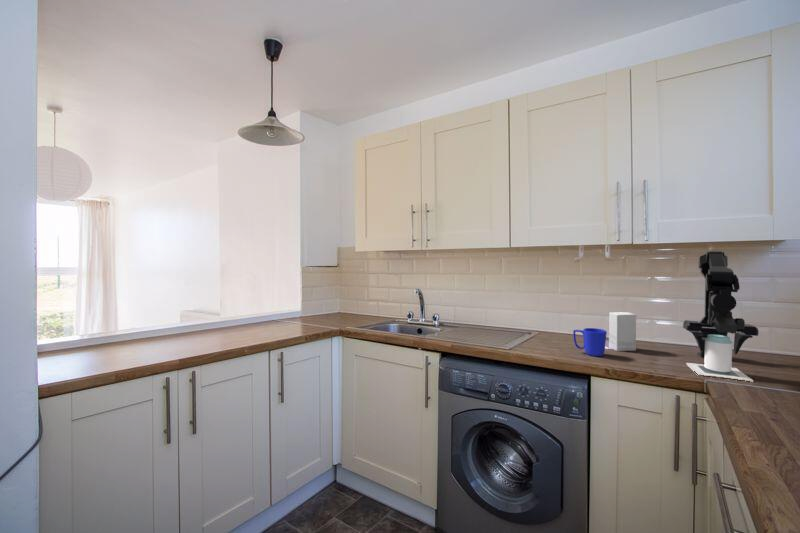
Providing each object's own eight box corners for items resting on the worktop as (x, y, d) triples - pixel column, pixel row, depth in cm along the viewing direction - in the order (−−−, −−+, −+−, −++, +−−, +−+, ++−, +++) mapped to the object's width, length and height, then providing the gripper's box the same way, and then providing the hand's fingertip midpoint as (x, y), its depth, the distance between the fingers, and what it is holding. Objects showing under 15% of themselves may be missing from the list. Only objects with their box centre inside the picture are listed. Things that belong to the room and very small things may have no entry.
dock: (686, 364, 134) (686, 362, 134) (735, 369, 128) (735, 367, 128) (698, 375, 122) (698, 373, 122) (753, 382, 116) (753, 380, 116)
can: (732, 375, 120) (733, 339, 120) (704, 371, 124) (706, 336, 124) (729, 369, 126) (731, 335, 125) (703, 366, 130) (704, 332, 129)
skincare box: (627, 347, 158) (628, 311, 158) (636, 351, 152) (637, 314, 151) (607, 347, 158) (608, 311, 158) (616, 351, 152) (617, 314, 151)
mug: (574, 349, 155) (575, 326, 154) (607, 353, 148) (607, 329, 148) (571, 353, 148) (571, 329, 148) (604, 358, 141) (605, 333, 141)
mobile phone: (606, 347, 156) (596, 339, 170) (606, 349, 156) (596, 341, 170) (626, 348, 154) (614, 340, 168) (626, 350, 154) (614, 342, 168)
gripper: (692, 309, 121) (691, 355, 121) (767, 313, 113) (765, 362, 113) (683, 304, 131) (682, 347, 131) (751, 307, 123) (749, 353, 123)
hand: (718, 352), depth 125 cm, fingers open, 9 cm apart
